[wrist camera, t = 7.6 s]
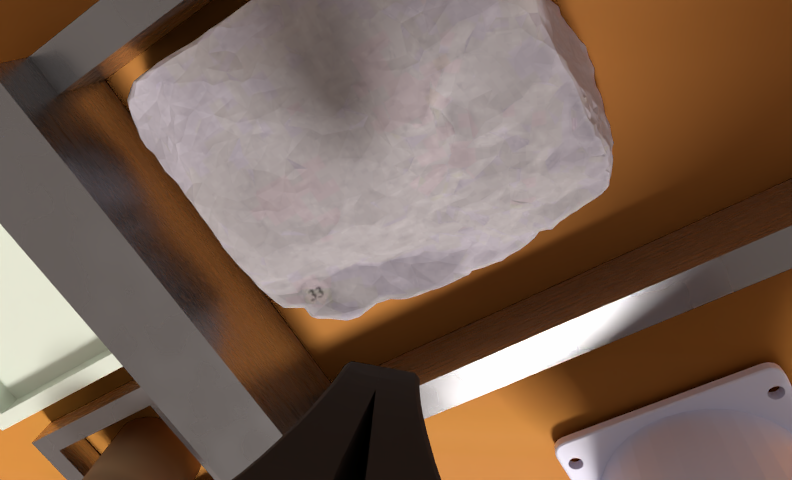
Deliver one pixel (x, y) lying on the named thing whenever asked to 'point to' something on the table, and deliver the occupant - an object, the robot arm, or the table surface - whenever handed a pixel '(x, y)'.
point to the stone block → (377, 140)
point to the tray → (41, 340)
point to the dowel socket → (68, 432)
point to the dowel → (145, 454)
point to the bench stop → (239, 295)
